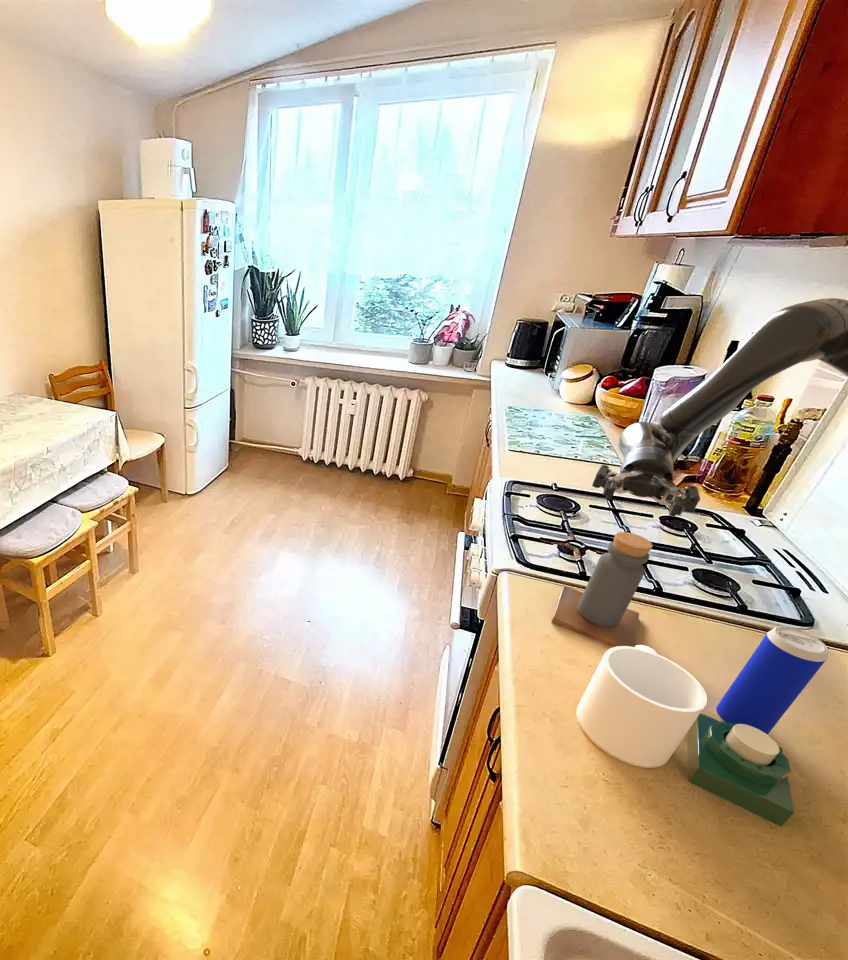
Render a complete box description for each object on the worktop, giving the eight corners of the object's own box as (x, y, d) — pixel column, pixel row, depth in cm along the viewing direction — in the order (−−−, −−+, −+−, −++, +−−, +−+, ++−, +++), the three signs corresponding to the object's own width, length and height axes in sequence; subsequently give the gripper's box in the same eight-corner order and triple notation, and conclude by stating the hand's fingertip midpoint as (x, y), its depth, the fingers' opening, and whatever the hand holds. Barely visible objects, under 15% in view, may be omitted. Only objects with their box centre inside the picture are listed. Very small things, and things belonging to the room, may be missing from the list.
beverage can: (759, 717, 70) (821, 634, 63) (771, 747, 66) (839, 662, 59) (709, 700, 72) (765, 618, 65) (719, 728, 68) (779, 644, 61)
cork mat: (637, 617, 87) (639, 612, 87) (632, 655, 80) (635, 650, 79) (561, 589, 93) (563, 585, 93) (551, 622, 86) (553, 617, 85)
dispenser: (687, 725, 69) (703, 701, 67) (770, 761, 64) (790, 738, 62) (688, 781, 62) (706, 757, 60) (781, 827, 57) (803, 802, 55)
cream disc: (723, 728, 64) (731, 717, 63) (768, 748, 61) (777, 736, 60) (725, 751, 61) (734, 740, 60) (772, 773, 59) (782, 761, 58)
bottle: (584, 623, 84) (620, 547, 77) (571, 600, 89) (604, 527, 82) (625, 630, 83) (665, 553, 76) (610, 606, 88) (646, 532, 81)
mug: (673, 785, 61) (714, 727, 57) (574, 741, 66) (604, 685, 61) (663, 710, 71) (697, 655, 66) (576, 677, 76) (602, 623, 71)
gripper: (607, 442, 99) (598, 470, 88) (705, 463, 91) (708, 496, 80) (594, 477, 103) (583, 508, 91) (686, 500, 95) (687, 537, 84)
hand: (641, 502), depth 86 cm, fingers open, 8 cm apart
